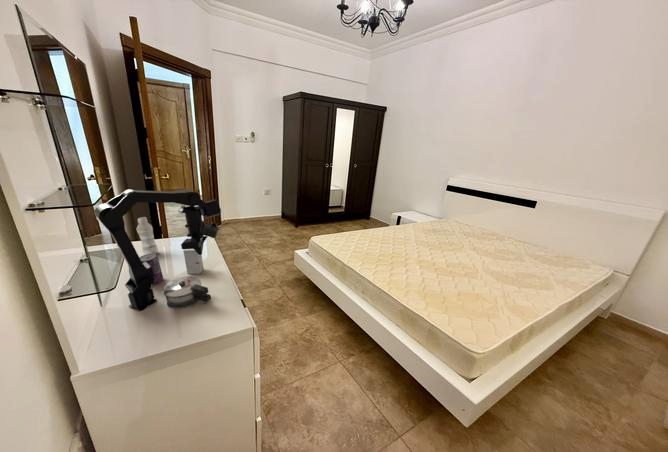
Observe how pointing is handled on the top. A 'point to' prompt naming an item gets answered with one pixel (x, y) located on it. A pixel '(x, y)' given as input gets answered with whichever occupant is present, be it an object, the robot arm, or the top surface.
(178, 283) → the lid
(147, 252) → the plastic bottle
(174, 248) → the top surface
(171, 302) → the pot
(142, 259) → the beverage can
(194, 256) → the skincare box
